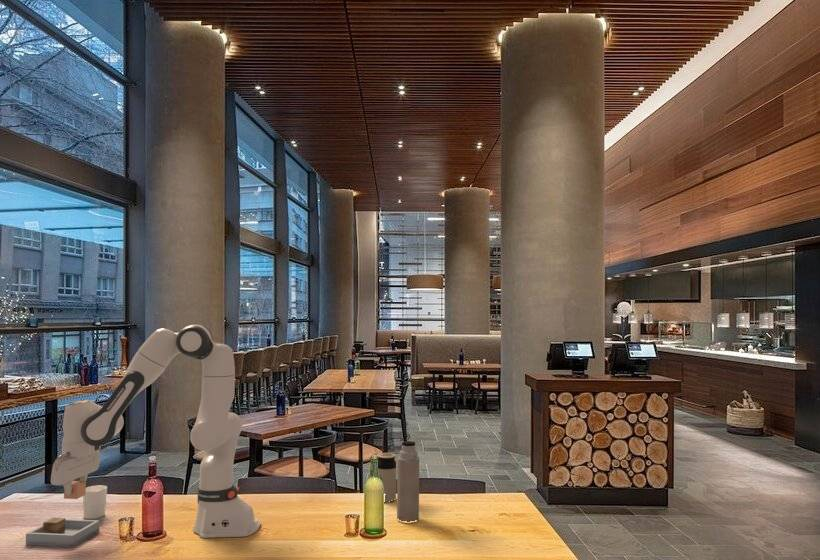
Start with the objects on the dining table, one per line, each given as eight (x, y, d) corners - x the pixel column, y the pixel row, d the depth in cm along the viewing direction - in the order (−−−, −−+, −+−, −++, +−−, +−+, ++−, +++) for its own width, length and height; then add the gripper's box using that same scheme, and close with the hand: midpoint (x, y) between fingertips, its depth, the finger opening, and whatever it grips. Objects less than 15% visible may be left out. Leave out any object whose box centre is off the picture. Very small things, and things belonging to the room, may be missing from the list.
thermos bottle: (392, 519, 218) (393, 441, 219) (410, 514, 223) (410, 438, 224) (405, 525, 211) (406, 445, 213) (423, 520, 216) (423, 442, 218)
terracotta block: (85, 494, 200) (85, 481, 200) (76, 499, 196) (77, 485, 196) (72, 494, 200) (73, 480, 201) (63, 498, 196) (64, 484, 196)
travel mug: (391, 496, 245) (392, 451, 246) (398, 501, 238) (399, 456, 239) (373, 498, 242) (373, 453, 243) (380, 504, 235) (380, 457, 236)
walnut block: (64, 531, 200) (65, 518, 200) (55, 536, 195) (56, 522, 196) (52, 531, 200) (52, 517, 201) (42, 536, 196) (43, 522, 196)
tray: (99, 530, 204) (99, 520, 204) (72, 546, 190) (72, 535, 190) (55, 529, 205) (55, 518, 205) (25, 544, 191) (26, 533, 191)
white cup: (95, 520, 214) (96, 492, 215) (76, 518, 216) (77, 490, 216) (111, 513, 222) (112, 486, 222) (92, 511, 223) (93, 484, 224)
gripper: (65, 457, 188) (63, 501, 187) (104, 443, 209) (102, 483, 208) (46, 456, 189) (44, 500, 188) (87, 442, 209) (85, 482, 208)
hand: (75, 491), depth 198 cm, fingers closed on terracotta block, 4 cm apart
